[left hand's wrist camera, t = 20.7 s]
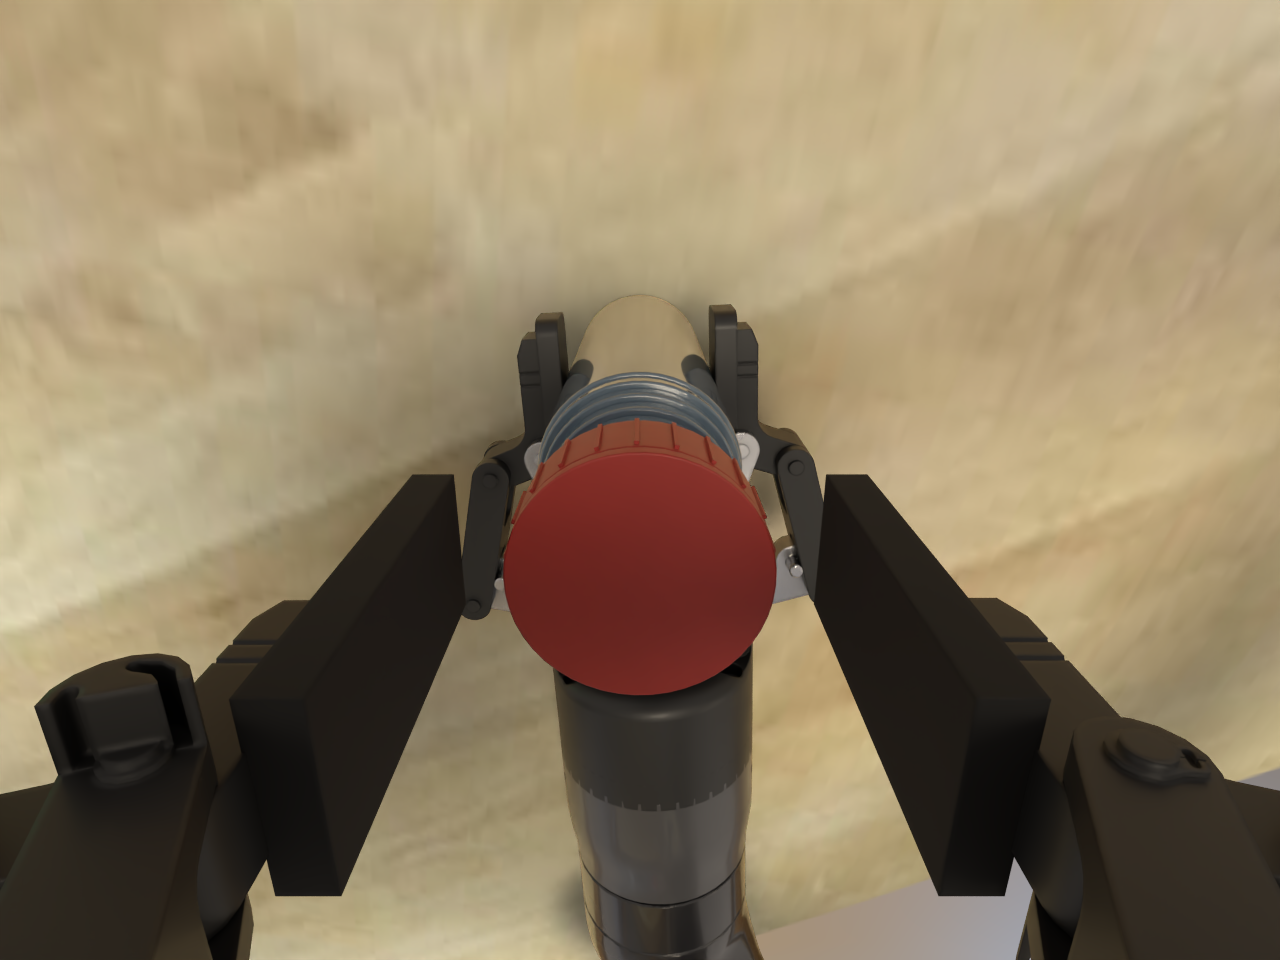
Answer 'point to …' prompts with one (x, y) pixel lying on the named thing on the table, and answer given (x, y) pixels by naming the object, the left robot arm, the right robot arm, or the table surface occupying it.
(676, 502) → the cap
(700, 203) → the table surface
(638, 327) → the bottle
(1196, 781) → the left robot arm
